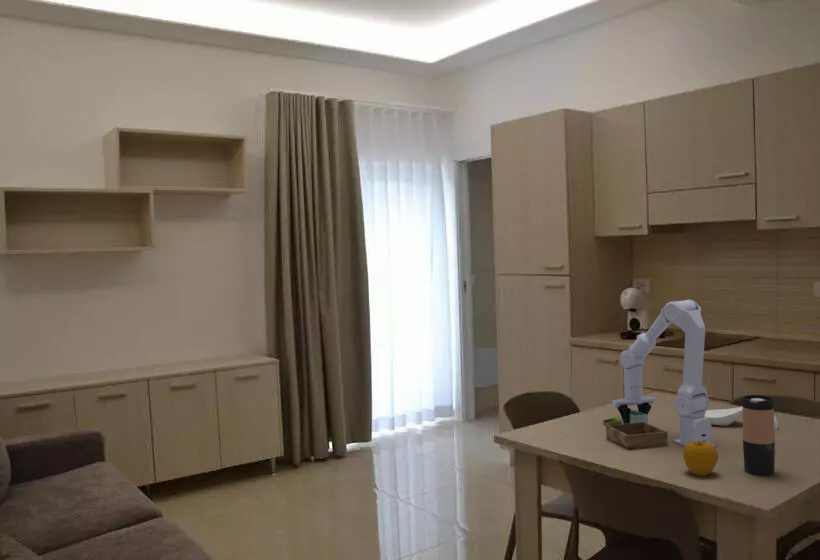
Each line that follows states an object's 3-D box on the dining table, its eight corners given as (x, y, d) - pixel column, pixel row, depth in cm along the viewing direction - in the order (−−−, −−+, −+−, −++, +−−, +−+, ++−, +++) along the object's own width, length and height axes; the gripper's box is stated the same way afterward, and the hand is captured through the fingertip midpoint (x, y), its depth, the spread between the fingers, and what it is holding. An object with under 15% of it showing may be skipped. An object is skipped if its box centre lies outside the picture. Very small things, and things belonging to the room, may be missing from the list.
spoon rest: (697, 427, 235) (696, 405, 235) (702, 418, 245) (701, 398, 245) (777, 433, 223) (776, 411, 223) (778, 424, 234) (778, 403, 233)
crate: (667, 446, 214) (667, 431, 214) (628, 450, 211) (627, 436, 211) (644, 435, 227) (643, 421, 226) (606, 439, 224) (606, 425, 224)
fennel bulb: (633, 415, 245) (601, 423, 243) (634, 405, 242) (601, 412, 241) (641, 426, 240) (608, 434, 239) (642, 415, 237) (608, 423, 236)
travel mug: (765, 467, 191) (764, 394, 190) (781, 476, 183) (780, 400, 182) (738, 468, 191) (736, 395, 190) (752, 477, 183) (751, 401, 182)
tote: (635, 427, 237) (634, 409, 237) (648, 432, 230) (647, 414, 229) (621, 428, 236) (621, 410, 236) (634, 434, 228) (633, 416, 228)
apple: (723, 473, 187) (722, 440, 187) (710, 481, 181) (709, 447, 181) (691, 467, 194) (691, 435, 193) (678, 474, 188) (677, 442, 187)
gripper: (646, 382, 238) (647, 421, 238) (607, 385, 235) (608, 425, 235) (658, 385, 231) (659, 426, 231) (618, 389, 228) (619, 430, 228)
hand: (634, 426), depth 233 cm, fingers closed on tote, 5 cm apart
